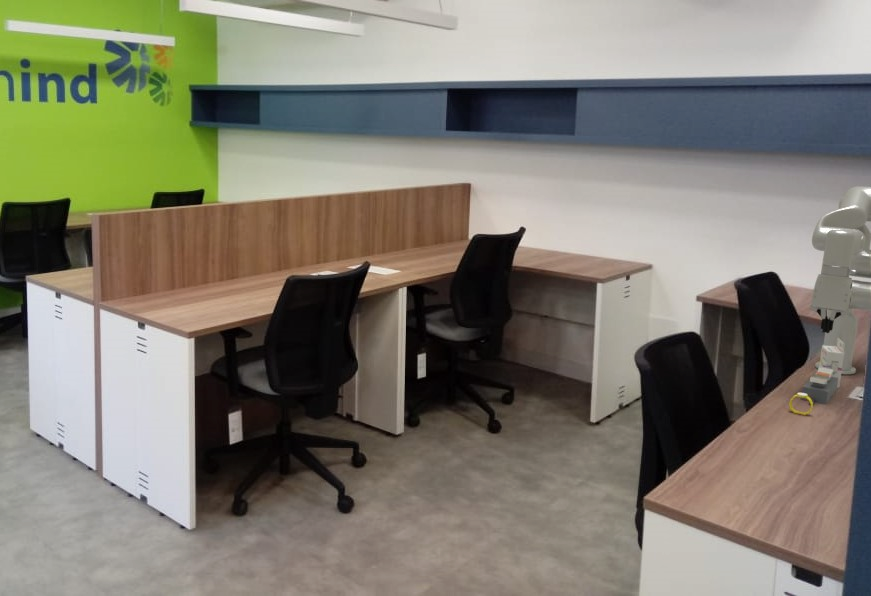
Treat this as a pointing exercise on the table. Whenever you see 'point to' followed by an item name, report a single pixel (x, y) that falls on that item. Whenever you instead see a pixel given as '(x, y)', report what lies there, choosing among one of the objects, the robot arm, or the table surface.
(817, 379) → the plate
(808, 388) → the rocker switch panel
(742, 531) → the table surface
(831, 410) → the table surface
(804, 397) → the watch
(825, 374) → the rocker
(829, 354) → the ink cartridge box
